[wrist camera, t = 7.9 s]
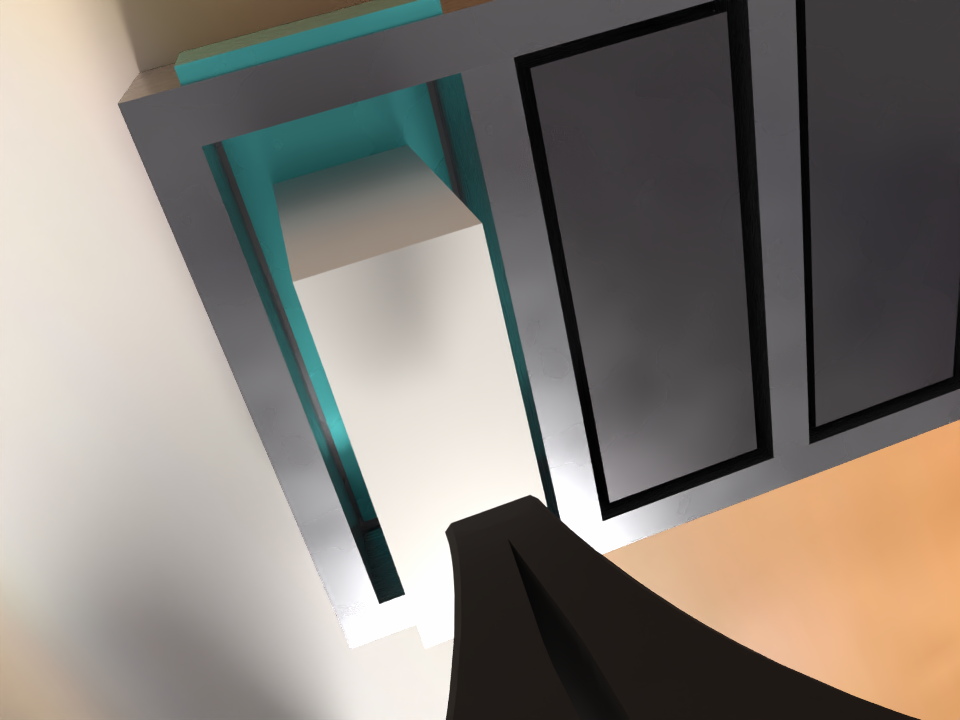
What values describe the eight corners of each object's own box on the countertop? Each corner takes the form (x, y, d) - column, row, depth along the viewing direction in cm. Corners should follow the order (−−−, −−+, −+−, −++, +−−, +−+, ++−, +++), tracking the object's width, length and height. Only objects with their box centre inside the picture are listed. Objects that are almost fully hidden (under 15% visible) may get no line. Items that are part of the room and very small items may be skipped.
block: (407, 144, 18) (481, 223, 13) (485, 441, 22) (566, 594, 17) (272, 184, 18) (292, 282, 12) (376, 479, 21) (425, 649, 16)
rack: (908, -151, 19) (1058, -173, 16) (894, 343, 26) (998, 404, 22) (133, 57, 17) (109, 85, 13) (331, 545, 23) (350, 648, 20)
